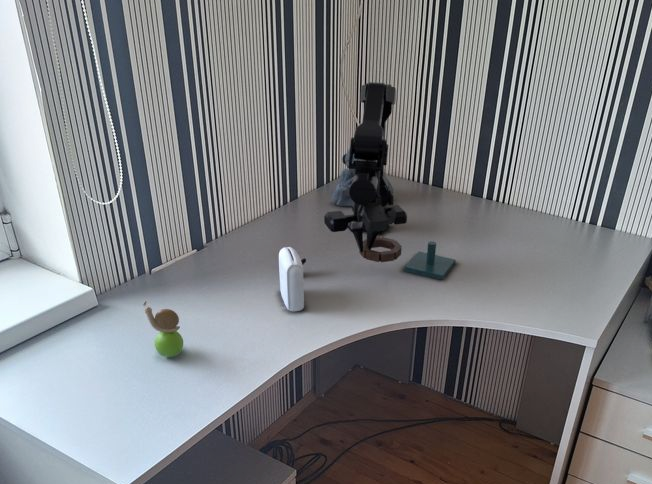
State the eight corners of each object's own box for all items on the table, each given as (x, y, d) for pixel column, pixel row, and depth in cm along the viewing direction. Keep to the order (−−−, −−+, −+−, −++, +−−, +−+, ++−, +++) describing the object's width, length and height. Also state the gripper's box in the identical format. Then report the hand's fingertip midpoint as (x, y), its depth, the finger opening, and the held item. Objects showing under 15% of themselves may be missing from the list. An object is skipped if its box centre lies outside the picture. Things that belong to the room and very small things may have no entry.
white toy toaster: (278, 291, 160) (276, 242, 153) (296, 289, 161) (295, 241, 154) (287, 313, 152) (285, 263, 145) (306, 311, 153) (305, 261, 146)
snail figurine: (154, 347, 139) (145, 295, 132) (186, 346, 139) (179, 294, 133) (149, 362, 134) (140, 309, 128) (182, 362, 135) (175, 309, 128)
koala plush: (338, 187, 219) (339, 125, 208) (395, 191, 218) (398, 129, 207) (330, 207, 204) (331, 142, 194) (391, 211, 203) (394, 146, 192)
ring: (353, 256, 164) (354, 248, 163) (370, 241, 172) (370, 234, 171) (390, 265, 161) (391, 257, 160) (406, 249, 169) (406, 242, 168)
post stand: (404, 271, 171) (405, 246, 167) (418, 255, 179) (420, 231, 175) (442, 279, 168) (444, 255, 164) (455, 263, 175) (457, 239, 172)
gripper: (339, 205, 147) (338, 271, 155) (418, 197, 153) (414, 260, 161) (323, 187, 156) (323, 250, 164) (399, 180, 162) (395, 241, 170)
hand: (364, 251), depth 165 cm, fingers closed on ring, 2 cm apart
